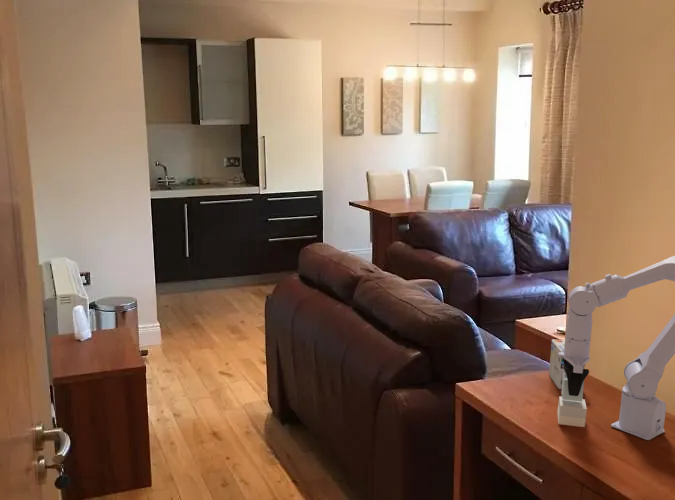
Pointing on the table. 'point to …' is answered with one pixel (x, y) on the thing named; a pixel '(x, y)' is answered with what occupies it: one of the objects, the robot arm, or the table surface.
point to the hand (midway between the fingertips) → (572, 391)
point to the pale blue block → (566, 394)
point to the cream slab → (570, 420)
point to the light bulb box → (557, 362)
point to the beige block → (572, 408)
